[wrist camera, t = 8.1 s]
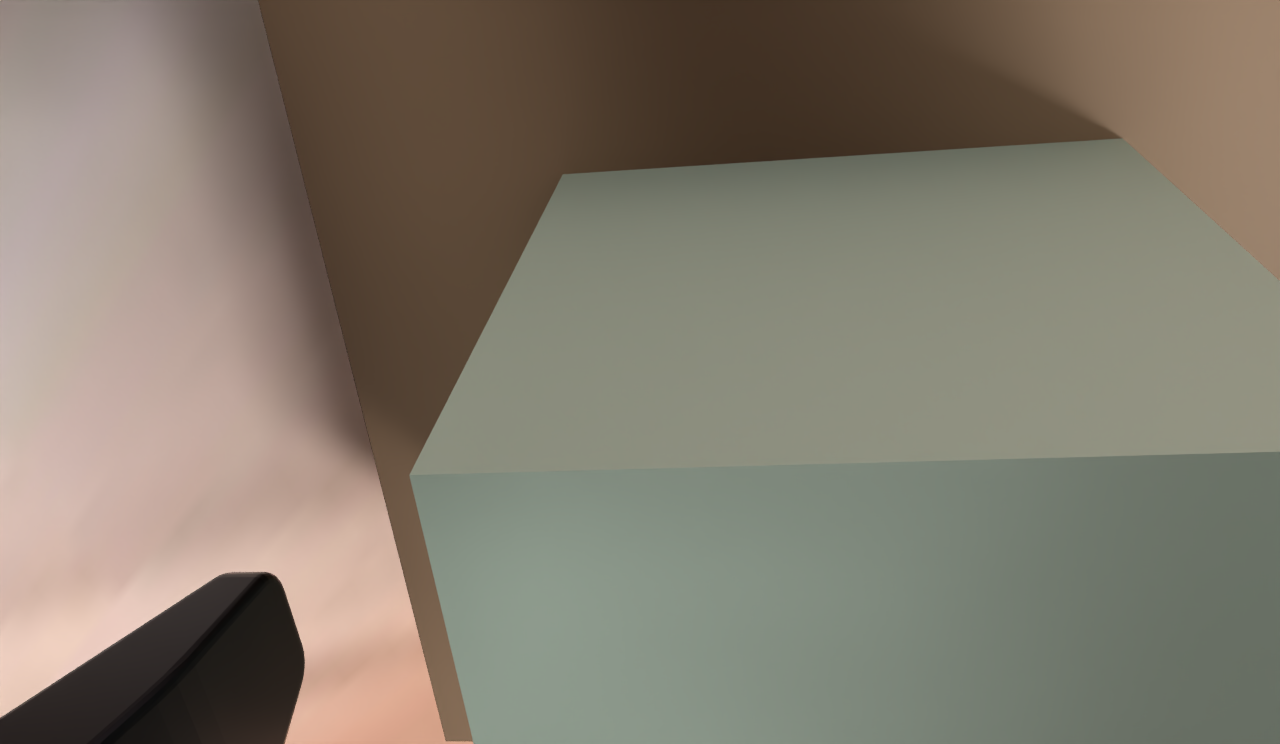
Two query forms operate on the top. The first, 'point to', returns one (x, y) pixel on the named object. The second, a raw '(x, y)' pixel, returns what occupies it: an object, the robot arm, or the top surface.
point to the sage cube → (868, 461)
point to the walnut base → (700, 143)
